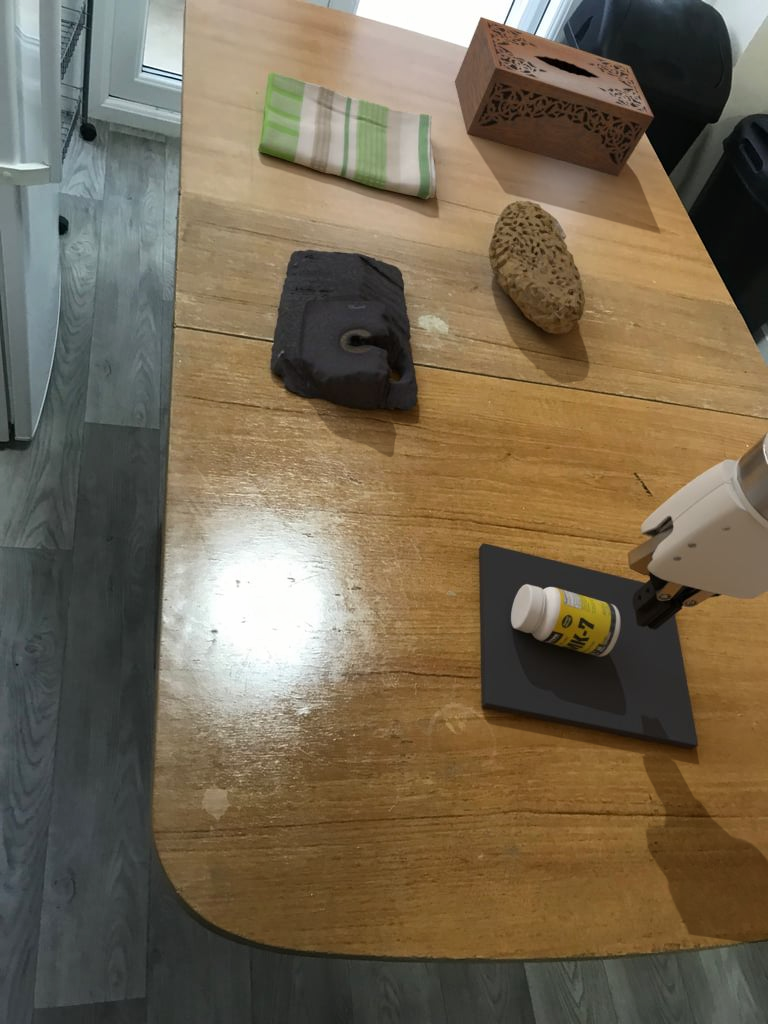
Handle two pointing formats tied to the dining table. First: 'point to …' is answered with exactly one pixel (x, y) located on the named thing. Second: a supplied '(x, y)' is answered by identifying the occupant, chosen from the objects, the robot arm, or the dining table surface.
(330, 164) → the dish towel
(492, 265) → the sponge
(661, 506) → the robot arm
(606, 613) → the supplement bottle
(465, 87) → the tissue box cover
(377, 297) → the dark slate chunk
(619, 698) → the mat
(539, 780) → the dining table surface
